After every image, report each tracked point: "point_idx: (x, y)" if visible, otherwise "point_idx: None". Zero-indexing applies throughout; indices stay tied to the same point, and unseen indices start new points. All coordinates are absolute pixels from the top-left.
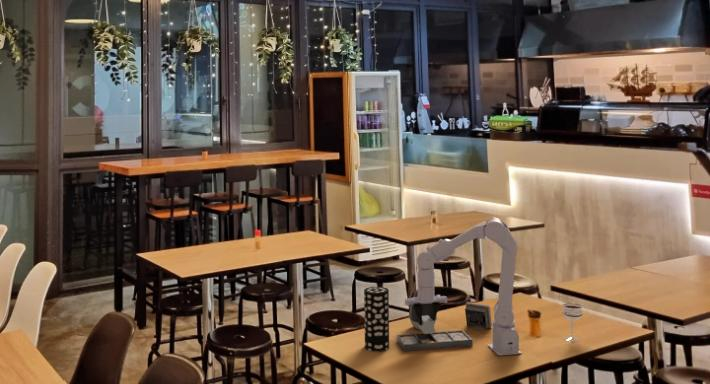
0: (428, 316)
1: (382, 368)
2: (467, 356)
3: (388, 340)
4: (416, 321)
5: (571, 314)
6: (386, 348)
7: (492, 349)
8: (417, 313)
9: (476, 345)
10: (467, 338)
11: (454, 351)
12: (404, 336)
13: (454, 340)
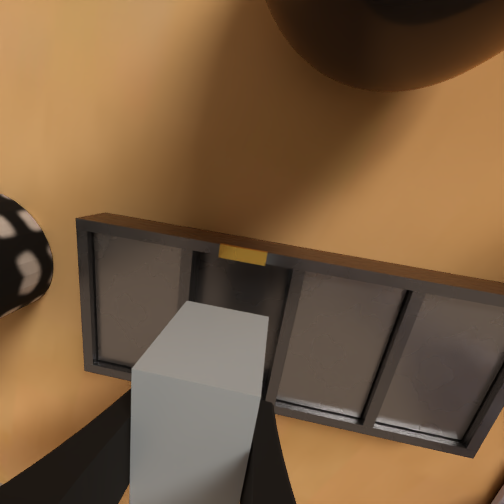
0: (245, 426)
1: (6, 437)
2: (341, 487)
3: (4, 308)
4: (281, 28)
5: None
6: (29, 303)
7: (497, 498)
8: (50, 482)
9: None
10: (469, 416)
11: (322, 431)
12: (124, 242)
13: (365, 427)
